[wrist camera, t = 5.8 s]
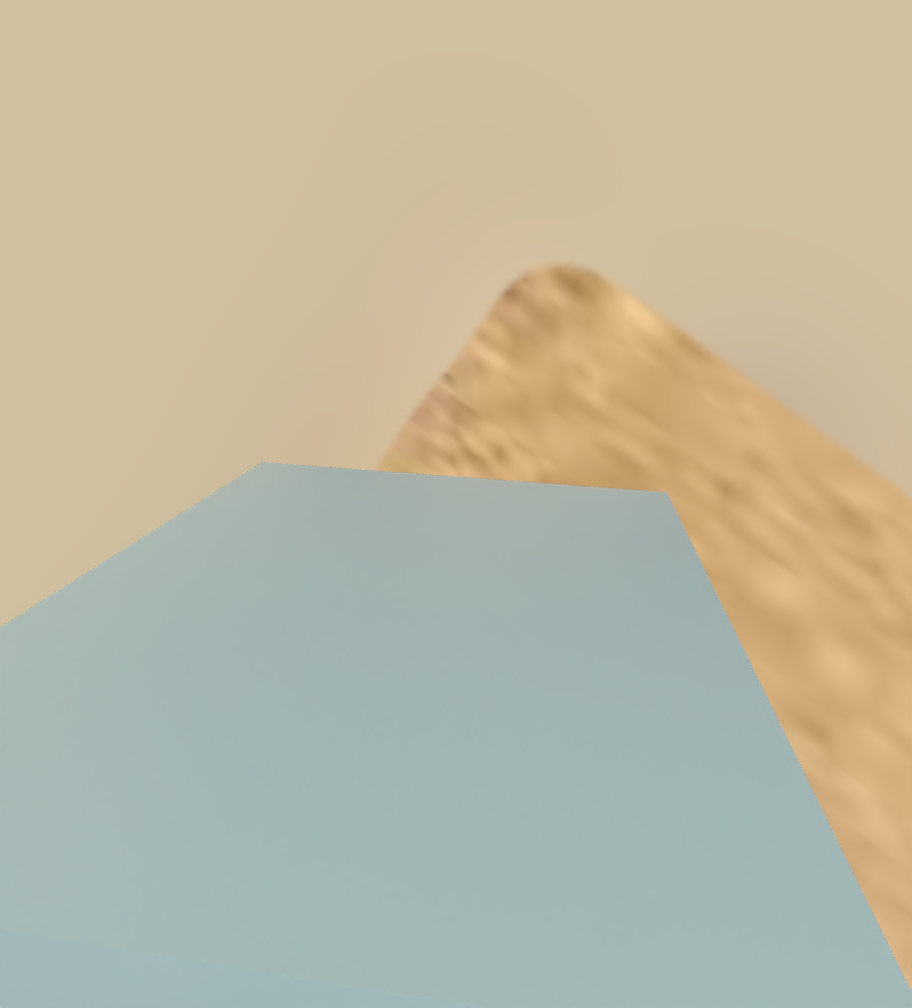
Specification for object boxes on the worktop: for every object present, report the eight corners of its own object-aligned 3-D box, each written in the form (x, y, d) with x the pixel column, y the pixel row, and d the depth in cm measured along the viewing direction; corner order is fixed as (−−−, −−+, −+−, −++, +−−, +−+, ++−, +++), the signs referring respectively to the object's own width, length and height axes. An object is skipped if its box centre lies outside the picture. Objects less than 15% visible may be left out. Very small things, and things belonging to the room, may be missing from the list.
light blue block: (666, 492, 11) (954, 1084, 3) (603, 957, 14) (663, 1891, 6) (262, 462, 12) (-382, 868, 4) (282, 909, 15) (-51, 1675, 7)
